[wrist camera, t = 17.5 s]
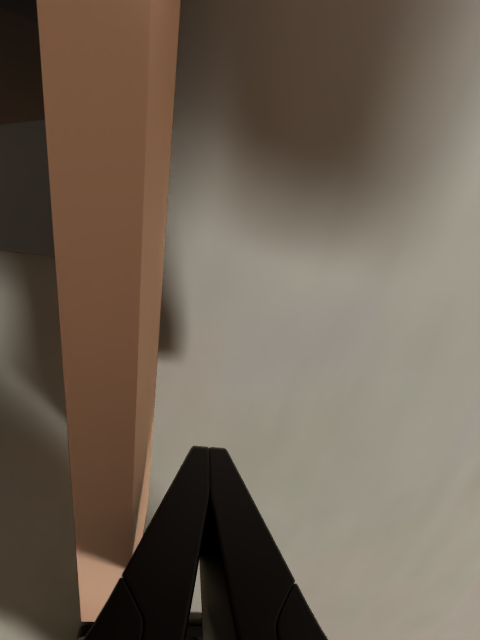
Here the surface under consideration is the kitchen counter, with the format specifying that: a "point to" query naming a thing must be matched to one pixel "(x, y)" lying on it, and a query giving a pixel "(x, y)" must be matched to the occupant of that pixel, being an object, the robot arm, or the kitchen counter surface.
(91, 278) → the tray
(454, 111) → the kitchen counter surface
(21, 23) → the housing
